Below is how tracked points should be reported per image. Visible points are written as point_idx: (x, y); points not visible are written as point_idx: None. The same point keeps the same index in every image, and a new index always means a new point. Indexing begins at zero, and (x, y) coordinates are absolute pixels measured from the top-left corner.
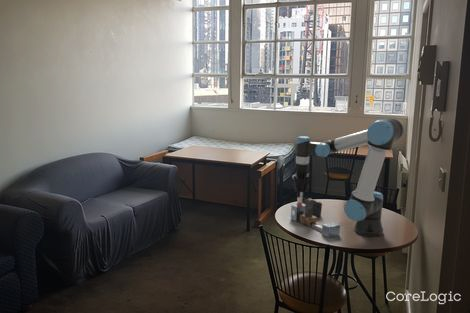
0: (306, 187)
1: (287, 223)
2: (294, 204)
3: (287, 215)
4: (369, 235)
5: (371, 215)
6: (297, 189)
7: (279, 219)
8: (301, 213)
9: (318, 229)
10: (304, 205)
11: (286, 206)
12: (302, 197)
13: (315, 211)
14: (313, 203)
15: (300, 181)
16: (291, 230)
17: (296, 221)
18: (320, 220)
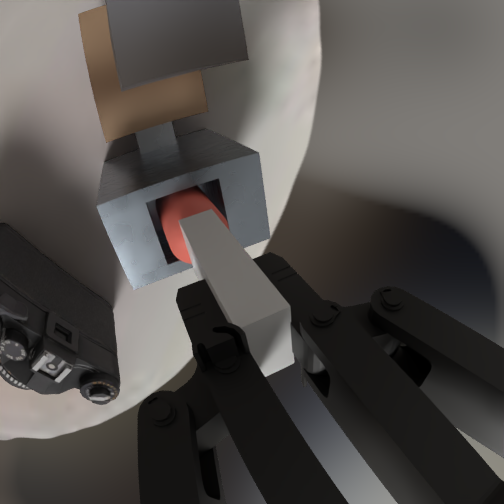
0: (158, 463)
1: (276, 118)
2: None
3: None
4: None
5: None
6: (413, 315)
7: (286, 198)
8: (169, 155)
9: None
10: (135, 209)
11: (158, 385)
12: (100, 402)
13: (9, 254)
14: (12, 308)
15: (479, 495)
16: (310, 8)
17: (203, 130)
18: (5, 149)
